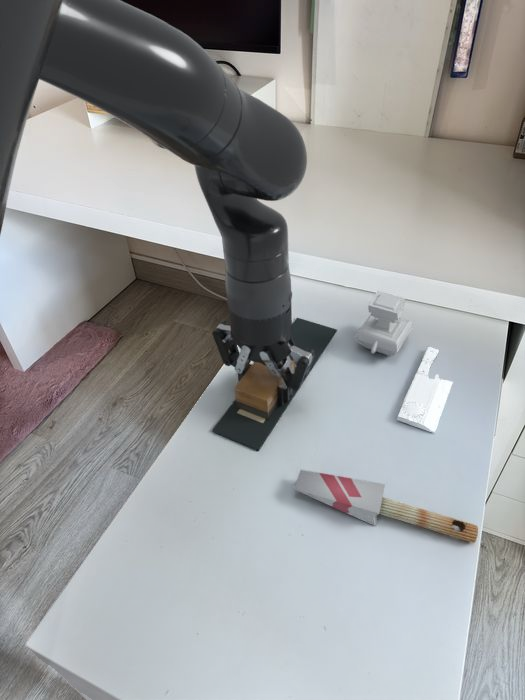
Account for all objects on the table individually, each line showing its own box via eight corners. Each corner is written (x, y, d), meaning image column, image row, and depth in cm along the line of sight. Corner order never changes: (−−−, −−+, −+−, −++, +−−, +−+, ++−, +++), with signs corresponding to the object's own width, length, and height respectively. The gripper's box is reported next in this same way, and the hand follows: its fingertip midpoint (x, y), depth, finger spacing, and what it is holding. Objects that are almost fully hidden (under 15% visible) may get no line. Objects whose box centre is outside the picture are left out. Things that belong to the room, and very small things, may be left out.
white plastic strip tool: (461, 360, 74) (463, 355, 73) (433, 434, 65) (435, 429, 64) (426, 350, 76) (428, 344, 75) (395, 419, 67) (396, 414, 66)
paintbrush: (302, 458, 59) (480, 513, 54) (301, 471, 61) (473, 525, 56) (292, 485, 57) (478, 545, 52) (291, 498, 59) (471, 557, 53)
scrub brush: (268, 420, 67) (267, 400, 64) (236, 407, 69) (233, 387, 66) (294, 381, 72) (294, 361, 69) (263, 370, 74) (262, 350, 71)
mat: (258, 451, 64) (258, 449, 64) (212, 432, 67) (211, 429, 66) (336, 331, 80) (336, 328, 80) (297, 319, 83) (297, 316, 83)
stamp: (392, 370, 74) (400, 326, 68) (350, 355, 76) (354, 311, 71) (412, 334, 79) (421, 290, 73) (372, 321, 82) (378, 278, 76)
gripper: (190, 299, 59) (208, 395, 71) (301, 333, 54) (300, 431, 65) (223, 266, 64) (235, 361, 75) (328, 294, 58) (323, 392, 70)
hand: (265, 393), depth 70 cm, fingers closed on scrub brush, 5 cm apart
